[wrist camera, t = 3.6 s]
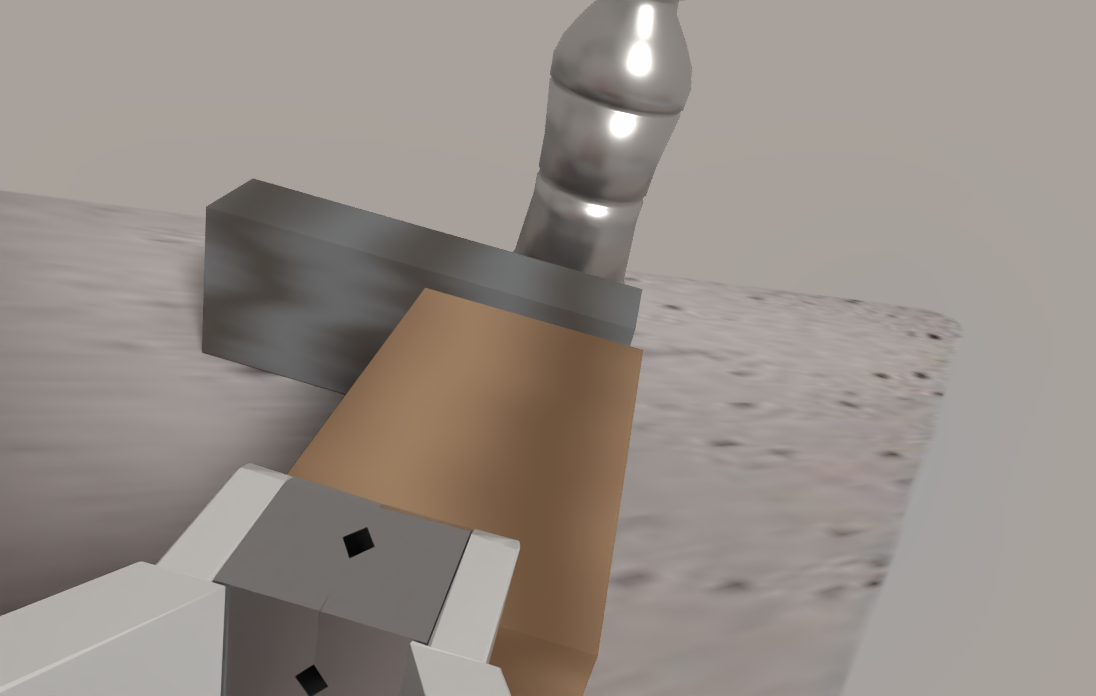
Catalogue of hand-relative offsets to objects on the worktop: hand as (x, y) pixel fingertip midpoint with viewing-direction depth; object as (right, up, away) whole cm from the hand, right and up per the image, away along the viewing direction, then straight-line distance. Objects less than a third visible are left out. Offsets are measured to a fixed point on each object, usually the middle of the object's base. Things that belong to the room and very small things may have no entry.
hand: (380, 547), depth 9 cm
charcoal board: (-5, 0, +30) cm, 30 cm away
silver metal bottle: (+2, +2, +36) cm, 36 cm away
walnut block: (-2, -8, +17) cm, 19 cm away
